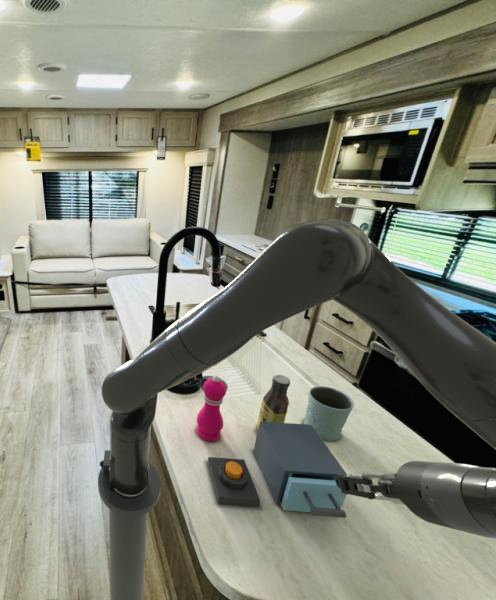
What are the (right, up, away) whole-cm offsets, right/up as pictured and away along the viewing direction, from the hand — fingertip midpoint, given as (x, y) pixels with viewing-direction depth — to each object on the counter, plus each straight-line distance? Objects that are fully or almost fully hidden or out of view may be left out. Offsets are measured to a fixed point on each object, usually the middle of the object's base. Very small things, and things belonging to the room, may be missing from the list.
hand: (364, 481), depth 53 cm
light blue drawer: (+2, -14, +19) cm, 24 cm away
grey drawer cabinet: (+2, -13, +24) cm, 27 cm away
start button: (-13, -10, +21) cm, 27 cm away
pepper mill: (-13, -8, +38) cm, 41 cm away
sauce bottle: (+4, -8, +37) cm, 38 cm away
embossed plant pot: (+20, -7, +38) cm, 43 cm away
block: (-13, -14, +23) cm, 30 cm away
